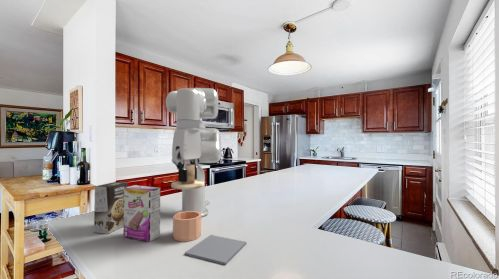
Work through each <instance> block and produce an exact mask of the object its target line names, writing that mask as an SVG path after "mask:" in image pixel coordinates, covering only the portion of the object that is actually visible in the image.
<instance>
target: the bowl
mask: <svg viewBox="0 0 499 279" xmlns="http://www.w3.org/2000/svg"><path fill="white" fill-rule="evenodd" d="M202 218H203V217H202V214H201V213H200V212H196V211H185V212H180V213H178V212H176V213H175V214H174V215H173V216H172V237H173V240H174V241H177V242H183V243H185V242H187V243H188V242H192V241H194V240H198V239H199V238H200V237H201V236H202Z"/></svg>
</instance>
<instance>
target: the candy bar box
mask: <svg viewBox="0 0 499 279" xmlns="http://www.w3.org/2000/svg"><path fill="white" fill-rule="evenodd" d="M160 236H161V187H155V186H146V185H137V184H135V185H134V184H133V185H130V186H129V185H128V187H125V188H124V227H123V238H128V239H132V240H138V241H143V242H147V243H150V242H153V241H154V240H156V239H158V238H159V237H160Z"/></svg>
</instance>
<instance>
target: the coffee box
mask: <svg viewBox="0 0 499 279" xmlns="http://www.w3.org/2000/svg"><path fill="white" fill-rule="evenodd" d="M125 187H129V182H127V181H126V182H125V181H113V182H108V183H104V184H98V185H95V186H94V211H93V212H94V214H93V216H94V217H93V219H94V220H93V233H95V234H96V233H97V234H106V235H107V234H112V233H113V232H115V231H118V230H120V229H122V228H124V188H125Z"/></svg>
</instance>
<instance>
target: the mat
mask: <svg viewBox="0 0 499 279" xmlns="http://www.w3.org/2000/svg"><path fill="white" fill-rule="evenodd" d="M246 245H247V241H245V240H239V239H234V238H229V237H223V236H218V235H215V234H214V235H213V234H210V235H208V236H206V237H205V238H204V239H202V240H201V241H199V242H198V243H196V244H195V245H193V246H192V247H190V248H189V249H188V250H186V251H185V252H184V255H186V256H189V257H192V258H197V259H201V260H204V261H209V262H213V263H217V264H219V265H223V266H226V265H227V264H228V263H229V262H230V261H231V260H232V259H233V258H234V257H235V256H236V255H237V254H238V253H239V252H240V251H241V250H242V249H243V248H244V247H245V246H246Z"/></svg>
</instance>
